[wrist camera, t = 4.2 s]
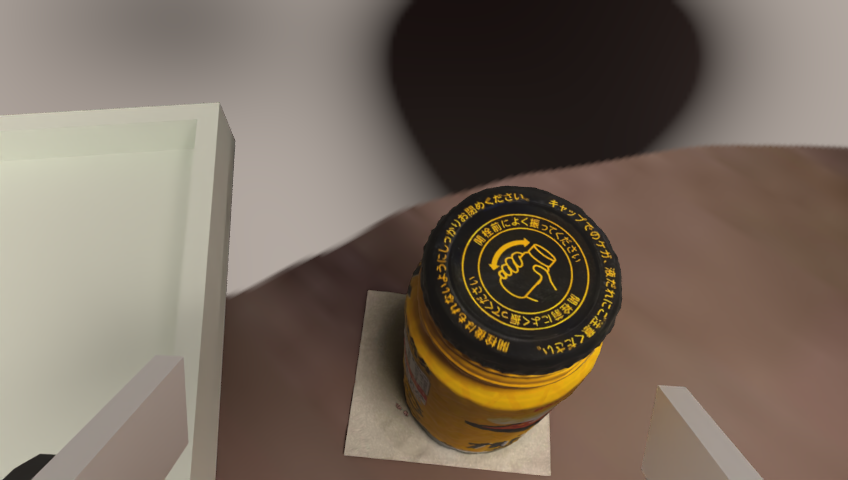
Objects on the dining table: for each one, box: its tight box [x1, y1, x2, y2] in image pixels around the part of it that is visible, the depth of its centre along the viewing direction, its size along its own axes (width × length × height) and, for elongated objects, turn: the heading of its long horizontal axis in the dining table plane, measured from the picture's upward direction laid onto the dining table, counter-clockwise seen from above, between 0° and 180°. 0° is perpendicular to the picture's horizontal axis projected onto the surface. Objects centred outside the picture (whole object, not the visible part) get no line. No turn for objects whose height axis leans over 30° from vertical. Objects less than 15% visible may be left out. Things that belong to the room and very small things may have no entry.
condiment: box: [344, 186, 622, 476], centre depth 20 cm, size 7×8×12 cm
